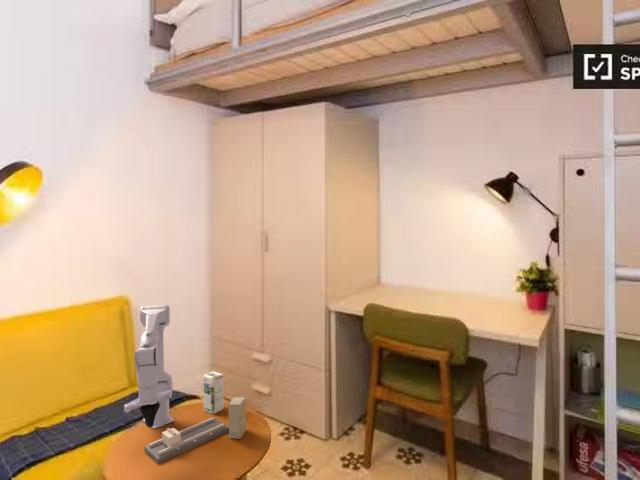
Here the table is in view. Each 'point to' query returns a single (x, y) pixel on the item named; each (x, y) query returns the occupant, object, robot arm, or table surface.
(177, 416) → the table surface
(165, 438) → the fader tab
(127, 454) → the table surface
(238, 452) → the table surface
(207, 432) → the gray slider track
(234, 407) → the skincare box
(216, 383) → the syrup box
